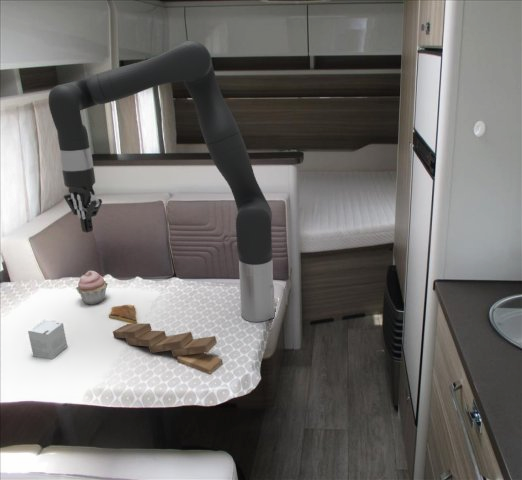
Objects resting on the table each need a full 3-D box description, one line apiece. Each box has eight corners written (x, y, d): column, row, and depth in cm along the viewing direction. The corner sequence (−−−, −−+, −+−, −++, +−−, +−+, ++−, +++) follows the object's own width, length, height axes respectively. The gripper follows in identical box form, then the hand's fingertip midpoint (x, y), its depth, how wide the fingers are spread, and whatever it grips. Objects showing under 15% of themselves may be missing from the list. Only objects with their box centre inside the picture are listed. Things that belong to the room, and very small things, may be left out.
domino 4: (183, 347, 130) (217, 342, 126) (173, 356, 126) (208, 352, 122) (181, 340, 130) (215, 336, 126) (171, 349, 125) (206, 345, 121)
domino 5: (190, 354, 129) (222, 365, 124) (177, 363, 125) (209, 376, 120) (190, 347, 128) (222, 359, 123) (176, 357, 124) (209, 369, 119)
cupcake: (72, 305, 154) (66, 275, 151) (88, 292, 163) (84, 263, 159) (99, 308, 152) (95, 277, 149) (115, 294, 160) (111, 265, 157)
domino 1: (129, 329, 140) (151, 329, 133) (114, 337, 136) (136, 338, 130) (127, 323, 140) (149, 323, 133) (112, 331, 136) (134, 331, 129)
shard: (137, 326, 143) (136, 320, 142) (109, 330, 141) (108, 324, 140) (135, 308, 152) (134, 303, 152) (109, 312, 151) (108, 307, 150)
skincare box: (48, 343, 134) (43, 318, 132) (68, 347, 133) (63, 321, 130) (32, 356, 129) (26, 330, 126) (52, 359, 127) (47, 334, 125)
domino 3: (162, 344, 133) (193, 338, 128) (151, 353, 128) (183, 347, 124) (159, 337, 132) (190, 331, 128) (148, 346, 128) (180, 340, 123)
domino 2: (142, 336, 137) (166, 337, 130) (127, 344, 133) (151, 346, 126) (140, 330, 136) (164, 331, 130) (125, 338, 133) (149, 339, 126)
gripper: (106, 166, 128) (115, 231, 134) (74, 161, 136) (83, 223, 142) (81, 172, 123) (91, 240, 129) (48, 166, 130) (60, 231, 136)
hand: (87, 231), depth 135 cm, fingers closed
